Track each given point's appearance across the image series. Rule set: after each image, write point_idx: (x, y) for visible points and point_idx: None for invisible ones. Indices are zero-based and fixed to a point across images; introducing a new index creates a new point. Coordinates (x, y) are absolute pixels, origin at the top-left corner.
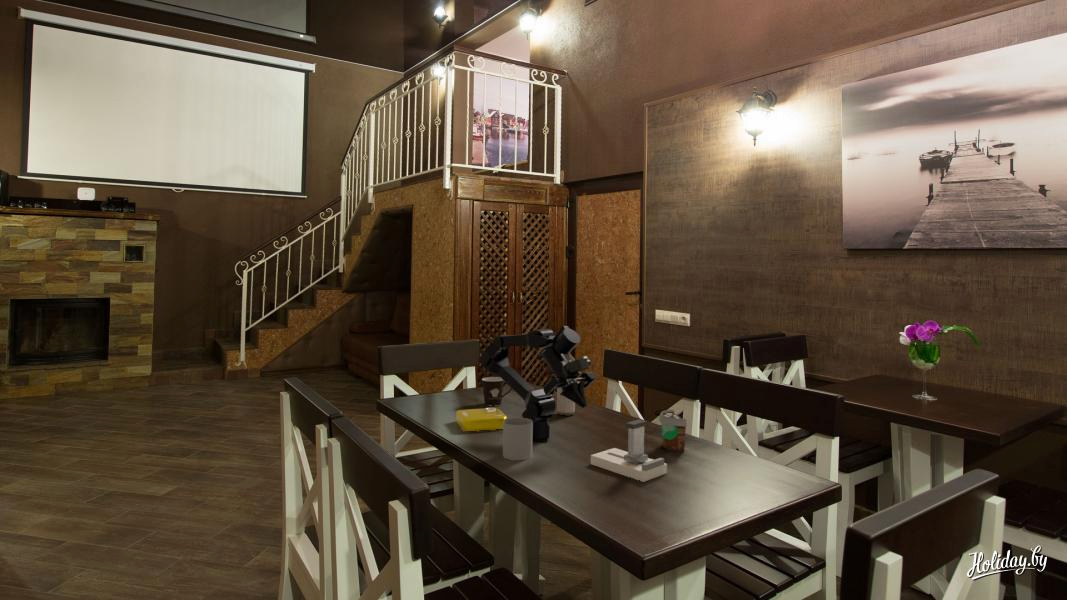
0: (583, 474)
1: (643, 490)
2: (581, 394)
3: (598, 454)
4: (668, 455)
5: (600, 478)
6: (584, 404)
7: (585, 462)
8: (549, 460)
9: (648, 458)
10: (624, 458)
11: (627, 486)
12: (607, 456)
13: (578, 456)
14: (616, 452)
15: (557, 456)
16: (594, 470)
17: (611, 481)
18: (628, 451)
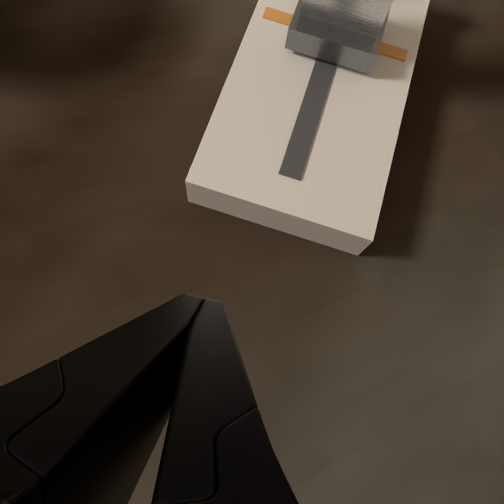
0: (494, 228)
1: (484, 3)
2: (124, 402)
3: (339, 211)
4: (51, 13)
5: (486, 154)
6: (224, 309)
7: (349, 287)
8: (439, 475)
9: (259, 9)
10: (372, 64)
11: (488, 51)
12: (341, 162)
13: (284, 362)
14: (255, 147)
15: (353, 471)
16: (420, 208)
17: (484, 110)
18: (384, 18)
